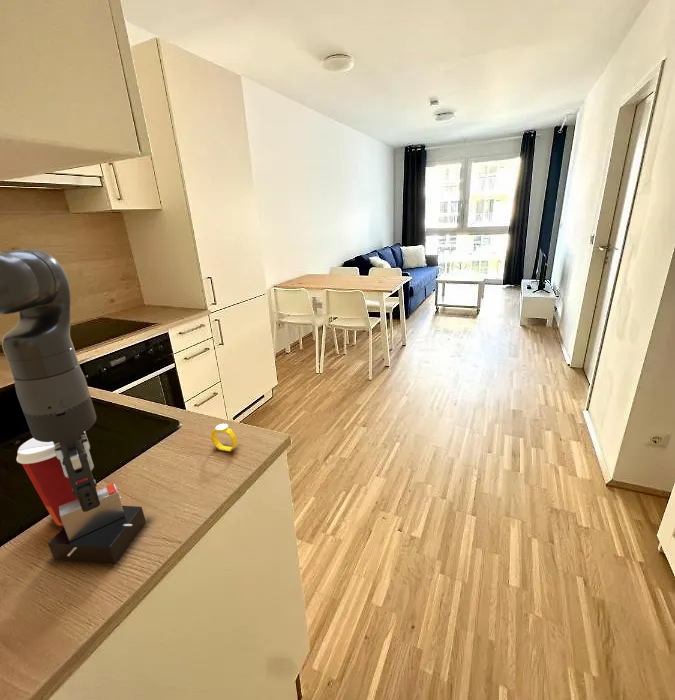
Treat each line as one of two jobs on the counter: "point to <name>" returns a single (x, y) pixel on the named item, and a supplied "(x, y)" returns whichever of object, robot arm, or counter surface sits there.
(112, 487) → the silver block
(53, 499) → the coffee cup
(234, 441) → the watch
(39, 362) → the robot arm
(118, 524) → the black square block
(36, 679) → the counter surface
